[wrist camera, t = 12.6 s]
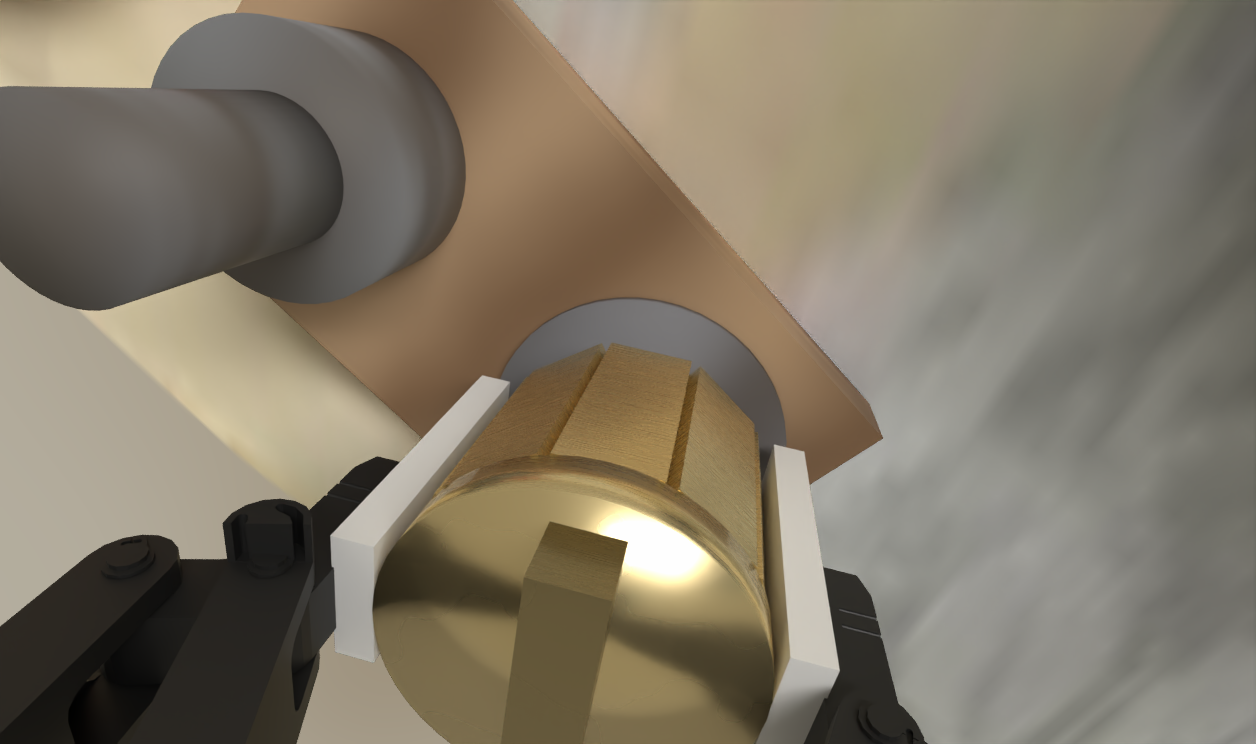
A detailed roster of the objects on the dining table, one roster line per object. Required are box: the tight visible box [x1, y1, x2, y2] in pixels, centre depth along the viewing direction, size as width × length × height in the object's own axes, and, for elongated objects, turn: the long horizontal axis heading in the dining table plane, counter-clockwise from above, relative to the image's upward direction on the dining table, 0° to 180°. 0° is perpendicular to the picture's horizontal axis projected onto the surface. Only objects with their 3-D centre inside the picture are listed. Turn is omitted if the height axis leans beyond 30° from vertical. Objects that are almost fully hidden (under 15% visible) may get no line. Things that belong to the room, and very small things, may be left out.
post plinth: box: [0, 0, 883, 484], centre depth 14 cm, size 18×10×10 cm, turn 44°
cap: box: [372, 342, 774, 744], centre depth 13 cm, size 7×7×7 cm
